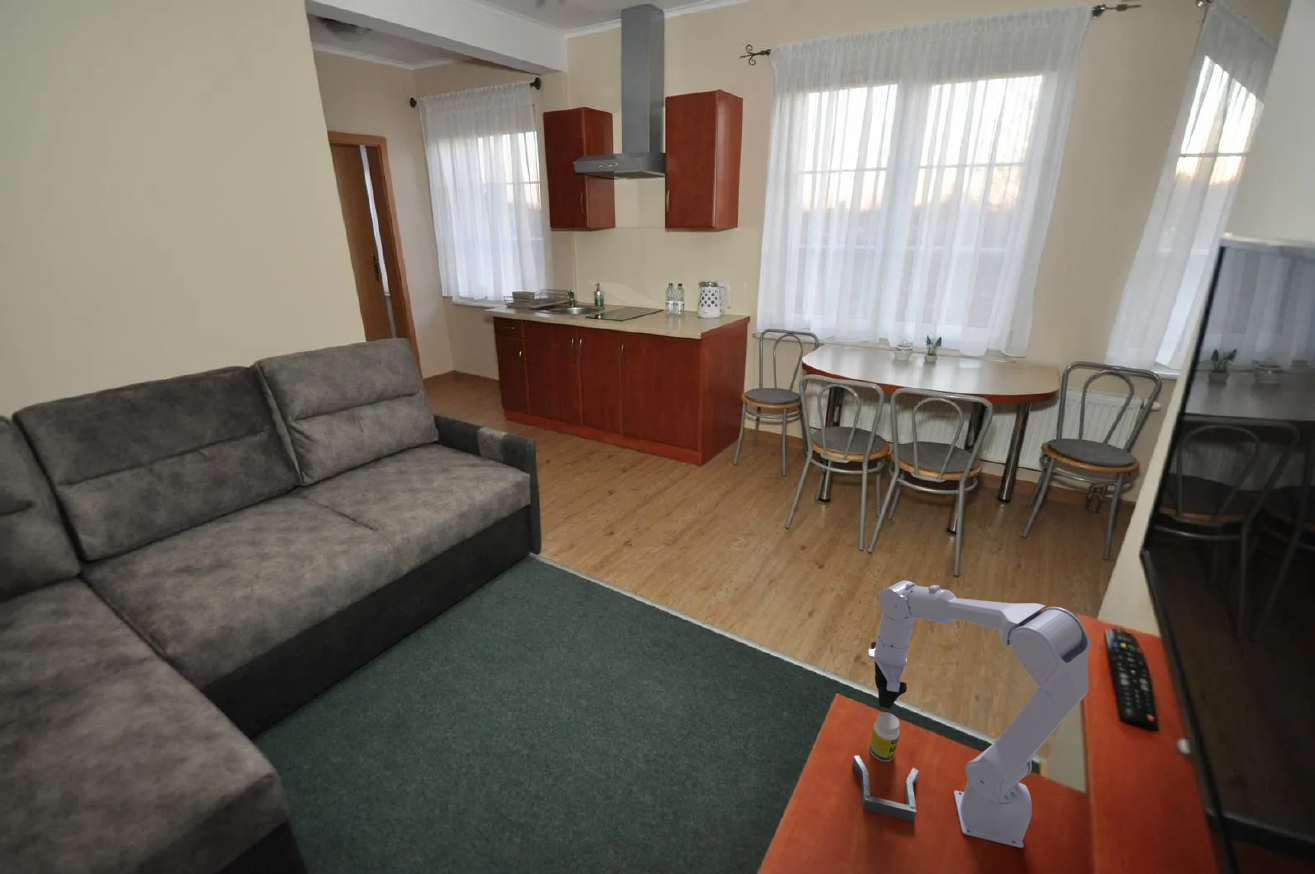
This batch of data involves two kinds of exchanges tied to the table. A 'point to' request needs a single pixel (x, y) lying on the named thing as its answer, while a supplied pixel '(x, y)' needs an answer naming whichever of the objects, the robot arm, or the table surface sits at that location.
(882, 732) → the supplement bottle
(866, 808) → the u holder
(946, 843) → the table surface
